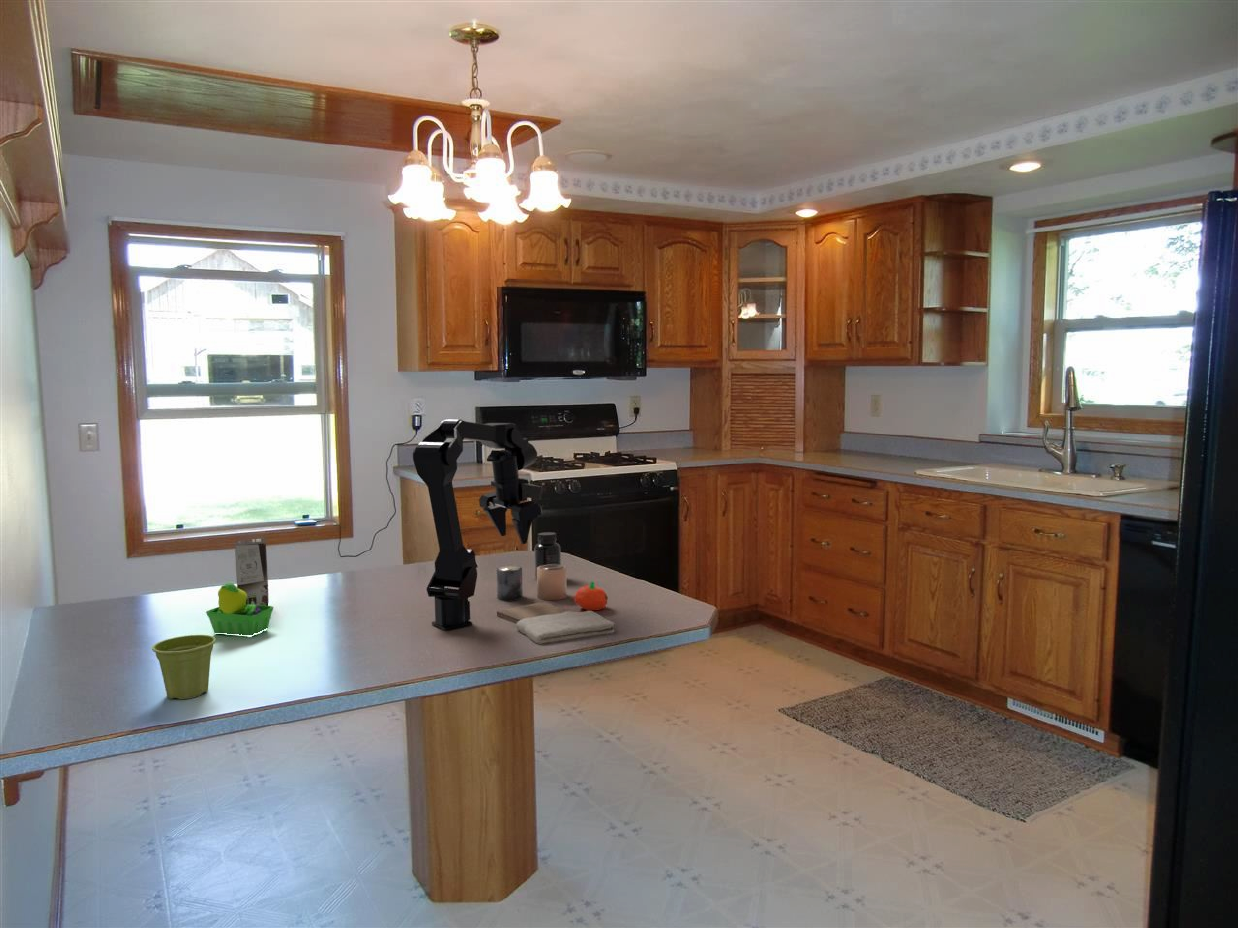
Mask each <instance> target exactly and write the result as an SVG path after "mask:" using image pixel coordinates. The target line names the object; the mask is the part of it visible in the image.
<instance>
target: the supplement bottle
mask: <svg viewBox="0 0 1238 928" xmlns="http://www.w3.org/2000/svg"><path fill="white" fill-rule="evenodd" d="M556 541H557V533H556V532H551V531H549V532H540V533H537V542H538V543H537V544H535V546H534V548H533V550H534V551H533V552H534V554H533V555H534V577H535V580H536V581H537V567H539V566H543V565H562V562H561V561H562V557H561V555H562V554H561V545H560V544H559V543H557V542H556Z"/></svg>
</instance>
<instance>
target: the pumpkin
mask: <svg viewBox="0 0 1238 928" xmlns="http://www.w3.org/2000/svg"><path fill="white" fill-rule="evenodd" d="M608 599H609V598H608V595H607V593H606V591H605V590H603V589H602V588H601V587H596V586H595V582H594V581H591V583H590V585H584V586H581V587H580V588H579V589H578V590H577V592H576V593H575V594H574V599H573V600H574V601H575V604H576V605H578V606H579V607H580V608H582V609H583V610H586V611H599V610H602V609H604V608H605V607H606V606H607V605H608V601H609V600H608Z"/></svg>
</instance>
